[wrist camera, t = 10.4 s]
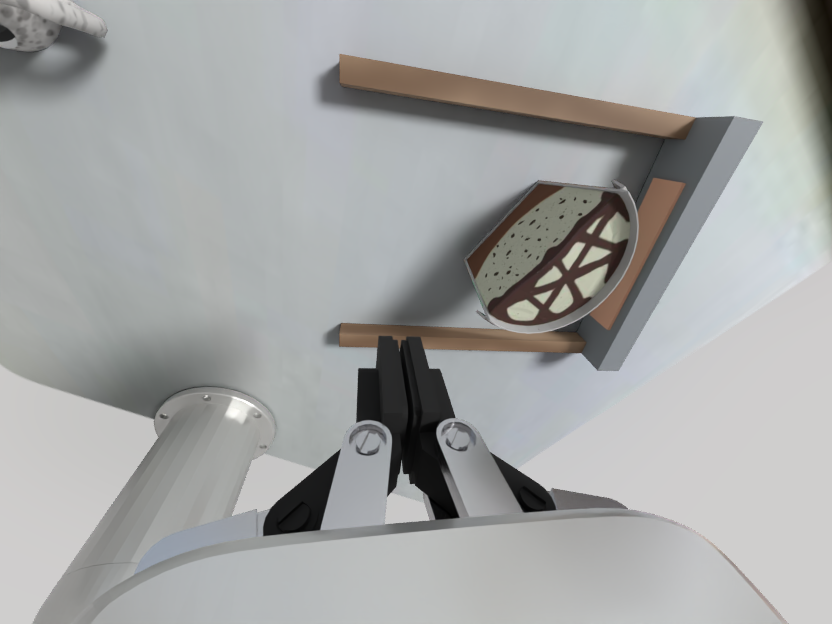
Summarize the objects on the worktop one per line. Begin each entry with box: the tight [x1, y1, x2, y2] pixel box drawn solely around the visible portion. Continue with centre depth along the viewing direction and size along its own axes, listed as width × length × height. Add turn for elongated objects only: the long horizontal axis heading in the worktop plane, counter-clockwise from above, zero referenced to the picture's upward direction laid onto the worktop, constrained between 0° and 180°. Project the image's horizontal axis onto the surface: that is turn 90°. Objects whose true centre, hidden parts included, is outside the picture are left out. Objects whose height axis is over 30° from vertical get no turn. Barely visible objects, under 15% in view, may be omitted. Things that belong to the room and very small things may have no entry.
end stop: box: [577, 116, 763, 371], centre depth 29 cm, size 23×3×5 cm, turn 173°
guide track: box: [339, 54, 696, 353], centre depth 28 cm, size 23×27×2 cm
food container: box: [464, 179, 639, 334], centre depth 25 cm, size 12×6×10 cm, turn 139°
